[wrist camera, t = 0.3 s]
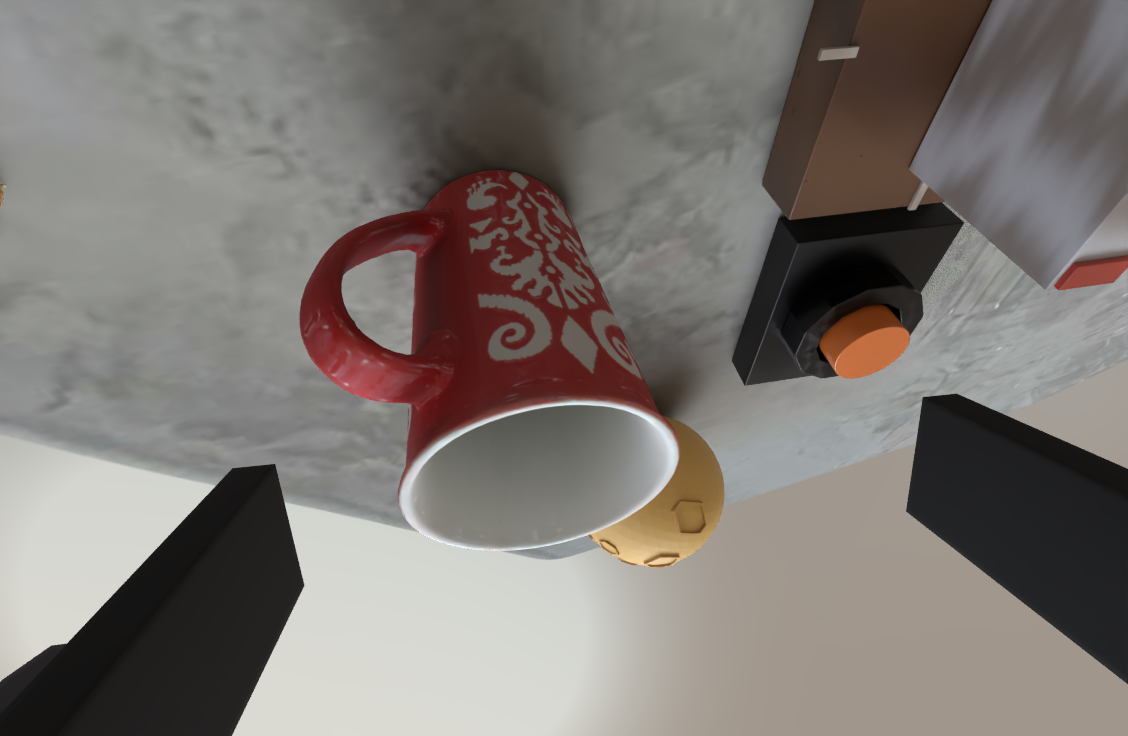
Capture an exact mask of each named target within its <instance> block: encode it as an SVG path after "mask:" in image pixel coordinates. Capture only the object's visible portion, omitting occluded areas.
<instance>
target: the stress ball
mask: <svg viewBox="0 0 1128 736" xmlns="http://www.w3.org/2000/svg"><path fill="white" fill-rule="evenodd" d="M664 417H665V416H664ZM665 418H666V420H667V421H668V422H669V423H670V424H671V425H672V427H673V428H674V430H675V432H676V434H677V437H678V440H679V446H680V457H679V461H678V465H677V468H676V471H675V473H674V475H673V476H672V478H671V479H670V481H669V482H668V484H667V485H666V486H665V487H664V489H663V490H662V491H661V492H660V493H659V494H658V495H656V496H655V497H654V498H653V499H652V500H651V501H650V502H649V503H648V504H646V505H645V506H643V507H642V508H641V509H639V510H638V511H636V512H635V513H633V514H632V515H630V516H628V517H627V518H625V519H623V520H621V521H619V522H617V523H615V524H613V525H611V526H609V527H607V528H604V529H602V530H599V531H597V532H595V533H592V534H589V536H590V538H591V539H592V540H593V541H595V542H596V543H598V544H599V545H600V546H601V548H603V549H604V550H605V551H607V552H608V553H609V554H611V555H614V556H616V557H617V558H618V559H620V560H621V561H622V562H625V563H628V564H631V565H646V566H647V567H649V568H660V567H666V566H672V565H673V564H675V563H676V562H677V561H679V560H681V559H683V558H685V557H688V556H689V555H691V554H692V553H694V552H695V551H697V549H699V548H700V547H701V546H702V545H703V544H704V543H705V542H706V541H707V539H708V538H709V537H710V536H711V534H712V533H713V531H714V529H715V528H716V525H717V523H718V522H719V519H720V516H721V513H722V509H723V504H724V481H723V476H722V472H721V469H720V466H719V463H718V461H717V459H716V457H715V455H714V453H713V451H712V450H711V448H710V447H709V446H708V444H707V443H706V442H705V441H704V440H703V439H702V437H701V436H700V435H699V434H698V433H696V432H695V431H694V430H692V429H691V428H690V427H688V426H686V425H685V424H683V423H681V422H679V421H677V420H674V419H671V418H669V417H665Z"/></svg>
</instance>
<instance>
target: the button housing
mask: <svg viewBox="0 0 1128 736" xmlns="http://www.w3.org/2000/svg"><path fill="white" fill-rule="evenodd" d="M907 208H908V206H904V207H896V208H887V209H879V210H871V211H862V212H854V213H845V214H837V215H828V216H820V217H811V218H803V219H794V220H789V219H788V218H787V217H783V218H779V220H778V223H777V226H776V229H775V232H774V235H773V238H772V241H771V244H770V247H769V250H768V253H767V256H766V259H765V262H764V265H763V268H762V271H761V274H760V278H759V281H758V284H757V287H756V290H755V293H754V296H753V299H752V302H751V305H750V308H749V311H748V314H747V317H746V320H745V323H744V326H743V329H742V332H741V335H740V338H739V341H738V344H737V347H736V350H735V353H734V356H733V359H732V362H733V364H734V366H735V368H736V370H737V372H738V374H739V376H740V377H741V379H742V381H743V383H744V385H745V386H747V385H753V384H760V383H766V382H773V381H779V380H786V379H792V378H799V377H805V376H812V375H813V376H816V377H819V378H828V377H834V376H839V375H838V374H837V373H836V372H835V371H834V369H833V368H832V366H831V365H830V363H829V362H828V360H827V358H826V357H825V355H824V354H823V352H822V351H821V349H820V340H821V338H822V336H823V334H824V333H825V332H826V331H828V330H829V329H830V328H831V327H832V326H833V325H834V324H835V323H837V322H838V321H839V320H840V319H841V318H842V317H844V316H846V315H849V314H851V313H853V312H855V311H857V310H859V309H861V308H863V307H866V306H873V305H884V306H886V307H888V308H889V309H890V310H891V311H892V312H893V314H894V315H895V316H896V317H897V318H898V320H899V321H900V322H901V323H902V325H903V326H904V327H905V328H906V329H907V331H908V332H909V335H911V334H912V332H913V331H914V329H915V328H916V326H917V325H918V323H919V322H920V320H921V319H922V317H923V303H922V295H921V294H920V293H921V291H922V290H923V288H924V286H925V285H926V283H927V282H928V280H929V278H930V277H931V275H932V274H933V272H934V270H935V269H936V267H937V266H938V264H939V262H940V261H941V259H942V258H943V256H944V254H945V253H946V251H947V250H948V248H949V246H950V245H951V243H952V242H953V240H954V238H955V237H956V235H957V234H958V232H959V230H960V229H961V227H962V226H963V224H964V222H963V221H962V220H961V219H960V218H958V217H957V216H956V215H955V214H954V213H953V212H952V211H951V210H949V209H948V208H947V207H946V206H945V205H944V204H943V203H942V202H938V203H930V204H921V205H918V206H917V208H916V210H908V209H907Z"/></svg>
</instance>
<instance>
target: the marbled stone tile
mask: <svg viewBox="0 0 1128 736" xmlns="http://www.w3.org/2000/svg"><path fill="white" fill-rule="evenodd" d="M909 170H910V171H911V172H912V173H914V174H915V175H916V176H917V177H918V178H919V179H920V180H922V181H923V182H924V183H925V184H926V185H927V186H928V187H929V188H931V189H932V190H933V191H934V192H935V193H936V194H937V195H938V196H940V197H941V198H942V199H943V200H944V201H945V202H946V203H947V204H949V205H950V206H951V207H952V208H953V209H954V210H955V211H956V212H958V213H959V214H960V215H961V216H962V217H963V218H964V219H965V220H967V221H968V222H969V223H970V224H971V225H972V226H973V227H975V228H976V229H977V230H978V231H979V232H980V233H981V234H982V235H984V236H985V237H986V238H987V239H988V240H989V241H990V242H991V243H993V244H994V245H995V246H996V247H997V248H998V249H999V250H1000V251H1002V252H1003V253H1004V254H1005V255H1006V256H1007V257H1008V258H1009V259H1011V260H1012V261H1013V262H1014V263H1015V264H1016V265H1017V266H1019V267H1020V268H1021V269H1022V270H1023V271H1024V272H1025V273H1026V274H1028V275H1029V276H1030V277H1031V278H1032V279H1033V280H1034V281H1035V282H1037V283H1038V284H1039V285H1040V286H1041V287H1042V288H1043V289H1044V290H1053V289H1058V290H1065V289H1072V288H1079V287H1086V286H1093V285H1100V284H1107V283H1113V282H1114V281H1115V280H1116V279H1117V278H1118V277H1119V276H1120V275H1121V274H1122V273H1123V272H1124V271H1125V270H1126V269H1127V268H1128V0H992V2H991V4H990V6H989V8H988V10H987V12H986V14H985V16H984V18H983V20H982V22H981V24H980V26H979V28H978V30H977V32H976V34H975V36H974V38H973V40H972V43H971V45H970V47H969V49H968V51H967V53H966V55H965V57H964V59H963V61H962V63H961V65H960V67H959V69H958V71H957V73H956V75H955V77H954V79H953V81H952V83H951V85H950V87H949V89H948V91H947V93H946V95H945V97H944V99H943V101H942V103H941V105H940V107H939V109H938V111H937V113H936V115H935V117H934V119H933V121H932V123H931V125H930V127H929V129H928V131H927V133H926V135H925V137H924V139H923V141H922V143H921V145H920V147H919V149H918V151H917V153H916V155H915V157H914V159H913V161H912V164H911V166H910V168H909Z"/></svg>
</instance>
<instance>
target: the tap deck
mask: <svg viewBox="0 0 1128 736" xmlns="http://www.w3.org/2000/svg"><path fill="white" fill-rule="evenodd" d="M991 2H992V0H815V3H814V7H813V10H812V14H811V17H810V21H809V24H808V27H807V31H806V34H805V38H804V41H803V45H802V48H801V52H800V55H799V59H798V62H797V66H796V69H795V72H794V76H793V79H792V83H791V86H790V90H789V93H788V97H787V100H786V104H785V107H784V111H783V114H782V117H781V121H780V124H779V128H778V131H777V135H776V138H775V142H774V145H773V149H772V152H771V156H770V159H769V162H768V166H767V169H766V173H765V176H764V180H763V183H762V186H763V187H764V188H765V190H766V191H767V192H768V193H769V195H770V196H771V197H772V199H773V200H774V201H775V202H776V204H777V205H778V206H779V208H780V209H781V210H782V212H783V213H784V214H785V215H786V217H787V218H788V219H789V220H794V219H803V218H811V217H820V216H828V215H837V214H845V213H854V212H862V211H871V210H879V209H887V208H896V207H904V206H908V208H907V209H908V210H916V208H917V206H918V205H921V204H930V203H938V202H945V201H944V200H943V199H942V198H941V197H940V196H938V195H937V194H936V193H935V192H934V191H933V190H932V189H931V188H929V187H928V186H927V185H926V184H925V183H924V182H923V181H922V180H920V179H919V178H918V177H917V176H916V175H915V174H914V173H912V172H911V171H910V170H909V168H910V166H911V164H912V161H913V159H914V157H915V155H916V153H917V151H918V149H919V147H920V145H921V143H922V141H923V139H924V137H925V135H926V133H927V131H928V129H929V127H930V125H931V123H932V121H933V119H934V117H935V115H936V113H937V111H938V109H939V107H940V105H941V103H942V101H943V99H944V97H945V95H946V93H947V91H948V89H949V87H950V85H951V83H952V81H953V79H954V77H955V75H956V73H957V71H958V69H959V67H960V65H961V63H962V61H963V59H964V57H965V55H966V53H967V51H968V49H969V47H970V45H971V43H972V40H973V38H974V36H975V34H976V32H977V30H978V28H979V26H980V24H981V22H982V20H983V18H984V16H985V14H986V12H987V10H988V8H989V6H990V4H991Z"/></svg>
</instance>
